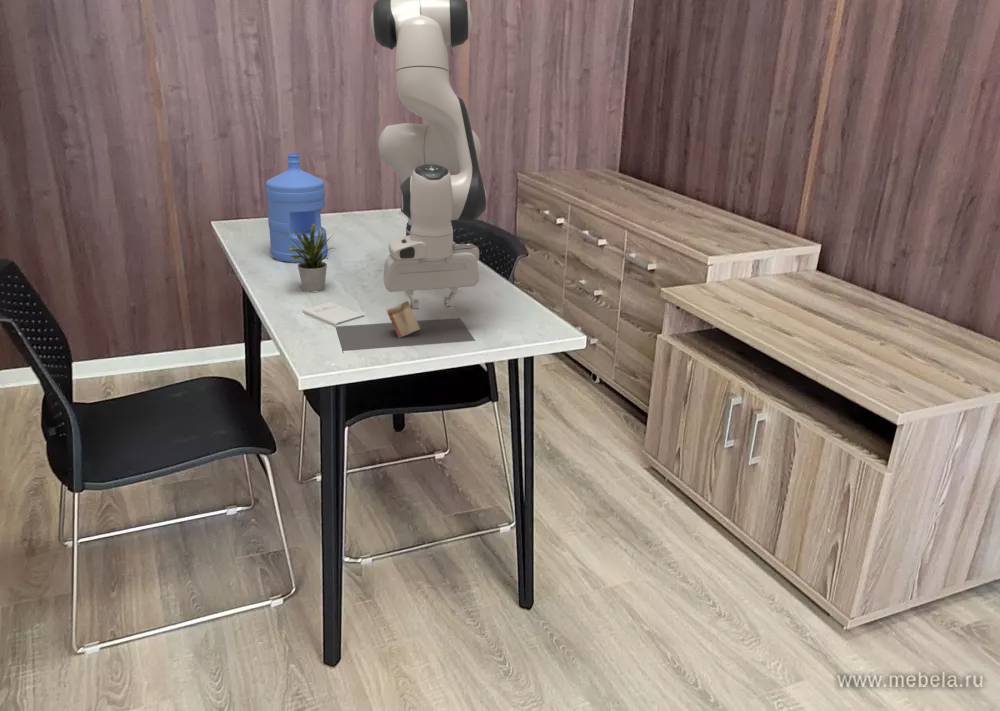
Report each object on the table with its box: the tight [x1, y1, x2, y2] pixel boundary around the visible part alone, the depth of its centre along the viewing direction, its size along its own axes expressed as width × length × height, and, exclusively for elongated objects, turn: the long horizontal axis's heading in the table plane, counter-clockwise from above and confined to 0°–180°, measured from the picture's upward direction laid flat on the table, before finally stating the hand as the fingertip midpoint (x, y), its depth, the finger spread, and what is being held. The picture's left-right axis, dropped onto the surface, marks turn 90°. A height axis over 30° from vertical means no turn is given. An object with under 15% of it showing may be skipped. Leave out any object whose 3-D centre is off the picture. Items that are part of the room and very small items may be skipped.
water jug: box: [265, 153, 329, 263], centre depth 225 cm, size 16×16×28 cm
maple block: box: [385, 301, 420, 338], centre depth 176 cm, size 5×5×5 cm
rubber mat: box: [335, 317, 476, 354], centre depth 177 cm, size 14×28×1 cm, turn 106°
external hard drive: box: [302, 301, 366, 328], centre depth 187 cm, size 2×8×12 cm
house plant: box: [284, 223, 337, 293], centre depth 202 cm, size 14×14×16 cm
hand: (431, 307), depth 177 cm, fingers open, 6 cm apart
